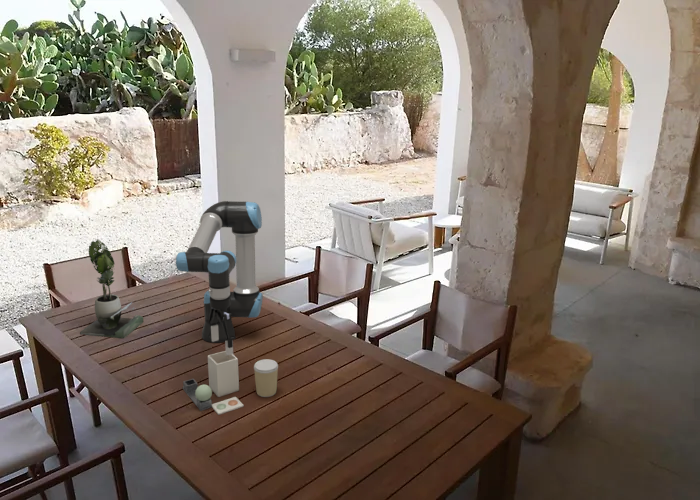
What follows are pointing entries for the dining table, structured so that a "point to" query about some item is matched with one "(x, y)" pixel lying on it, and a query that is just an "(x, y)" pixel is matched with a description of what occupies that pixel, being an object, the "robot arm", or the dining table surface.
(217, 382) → the open square box
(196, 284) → the dining table surface
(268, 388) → the coffee cup
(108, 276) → the potted plant
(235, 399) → the card
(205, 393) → the ball sage
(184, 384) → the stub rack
